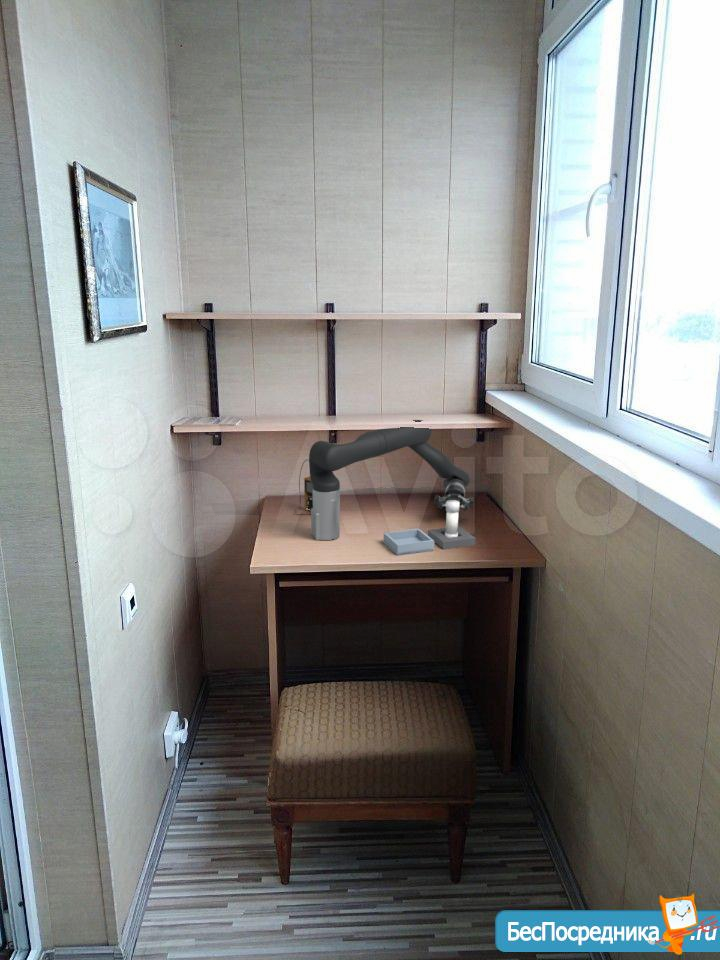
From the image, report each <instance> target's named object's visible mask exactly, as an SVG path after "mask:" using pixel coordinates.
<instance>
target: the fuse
mask: <svg viewBox="0 0 720 960" xmlns="http://www.w3.org/2000/svg"><path fill="white" fill-rule="evenodd" d="M459 505H460V502H459V501H457V500H448V501H447V502H446V507H445V511H446V515H445V517H446V518H445V519H446V520H445V523H446V524H445V528H446V531H445V536H446V537H447V538H451V537H458V532H457V531H458V526H459V513H460V506H459Z"/></svg>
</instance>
